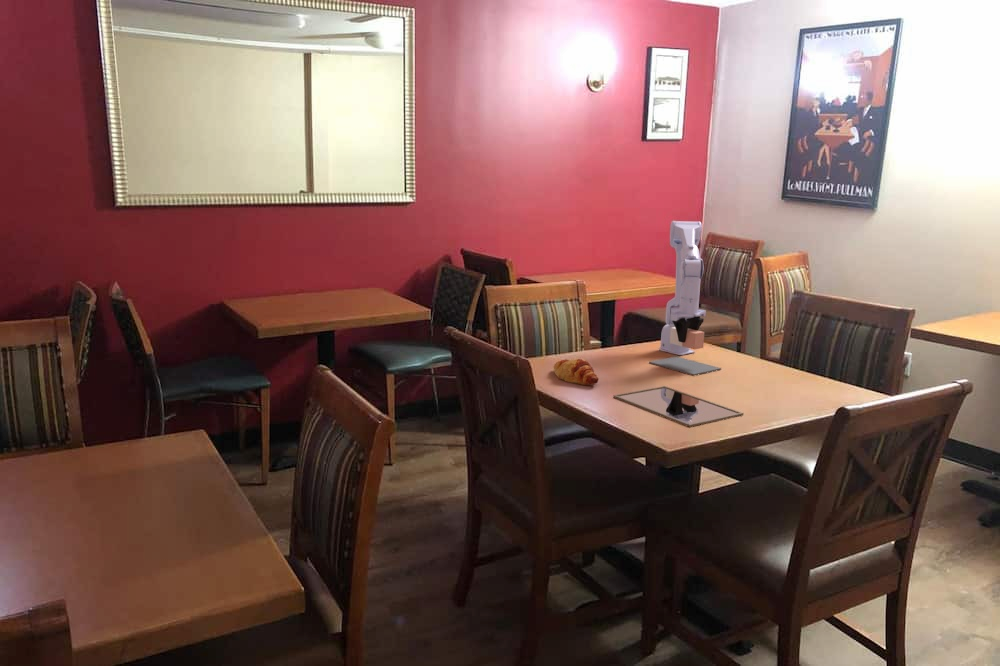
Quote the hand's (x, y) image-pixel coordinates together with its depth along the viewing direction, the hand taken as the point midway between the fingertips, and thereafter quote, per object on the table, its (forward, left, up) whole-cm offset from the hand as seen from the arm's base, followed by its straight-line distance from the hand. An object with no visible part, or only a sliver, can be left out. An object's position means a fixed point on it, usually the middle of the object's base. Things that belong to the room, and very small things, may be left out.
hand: (686, 341), depth 243 cm
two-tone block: (0, 0, -1) cm, 1 cm away
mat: (0, 0, -8) cm, 8 cm away
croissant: (-8, -39, -9) cm, 41 cm away
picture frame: (+26, -34, -9) cm, 44 cm away
